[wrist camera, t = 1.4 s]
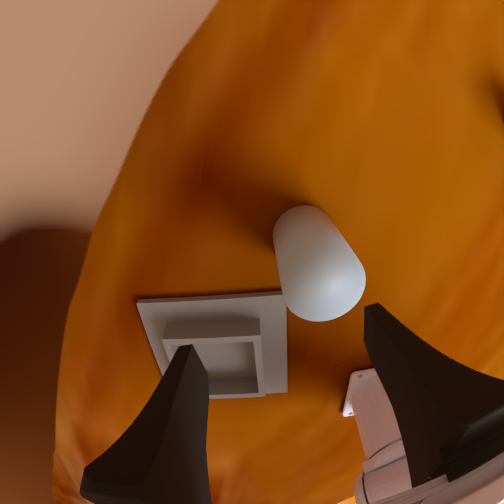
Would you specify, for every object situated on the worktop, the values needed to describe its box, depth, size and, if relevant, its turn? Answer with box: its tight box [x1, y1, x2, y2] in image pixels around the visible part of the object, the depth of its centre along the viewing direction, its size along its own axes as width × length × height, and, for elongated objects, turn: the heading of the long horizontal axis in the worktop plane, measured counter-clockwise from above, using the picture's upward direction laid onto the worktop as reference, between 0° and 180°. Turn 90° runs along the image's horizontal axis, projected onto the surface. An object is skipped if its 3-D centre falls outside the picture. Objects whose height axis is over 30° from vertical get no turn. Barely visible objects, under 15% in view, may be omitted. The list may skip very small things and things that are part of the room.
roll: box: [273, 205, 366, 322], centre depth 19 cm, size 4×4×7 cm
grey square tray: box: [136, 290, 287, 399], centre depth 26 cm, size 12×12×3 cm
